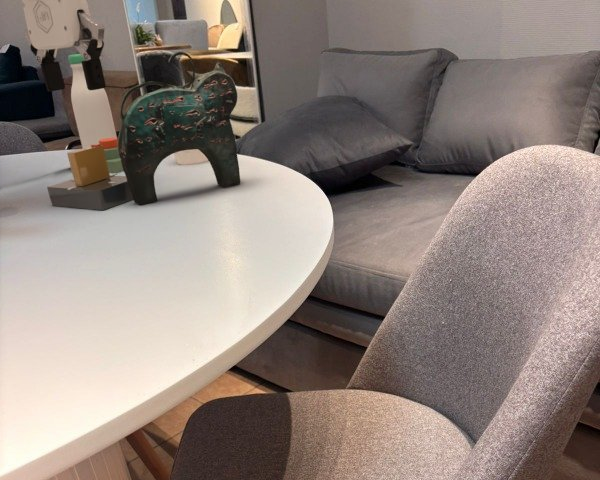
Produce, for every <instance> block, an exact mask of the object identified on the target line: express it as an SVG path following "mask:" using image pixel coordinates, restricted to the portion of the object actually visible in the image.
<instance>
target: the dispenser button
mask: <svg viewBox="0 0 600 480" xmlns="http://www.w3.org/2000/svg"><path fill="white" fill-rule="evenodd" d="M99 144H101V145H103V148H104V149H111V148H116V147H118V137H117V138H107V139H102V140H99Z"/></svg>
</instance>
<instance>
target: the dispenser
mask: <svg viewBox="0 0 600 480" xmlns="http://www.w3.org/2000/svg"><path fill="white" fill-rule="evenodd" d="M104 153H105V157H106V161H107V166H108V170H109V174H120V173H124V170H123V167H122V164H121V158H120V155H119V151H118V147H116V148H111V149H104Z"/></svg>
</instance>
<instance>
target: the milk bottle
mask: <svg viewBox="0 0 600 480" xmlns="http://www.w3.org/2000/svg"><path fill="white" fill-rule="evenodd" d="M67 58H68V63H69V65H70V66H69V67H70V68H71V70H72V82H71V90H70V100H71V105H72V106H71V107H72V110H73V114H74V115H73V116H74V119H75V123H76V127H77V132H78V136H79V140H80V144H81V147H82V148H81V149H83V148H87V147H91V145H93V144H99V140H102V139H107V138H117V139H118V136H117V132H116V131H117V130H116V128H115V121H114V118H113V114H112V109H111V104H110V101H109V98H108V94H107V92H106V90H105V88H103V89H97V90H88V88H87V84H86V80H85V76H84V71H83V67H82V62H81V61H86V60H84V58H83V57H82V56H81V54H80V53H76V54H69V55H68V57H67Z"/></svg>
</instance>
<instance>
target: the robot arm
mask: <svg viewBox="0 0 600 480" xmlns="http://www.w3.org/2000/svg"><path fill="white" fill-rule="evenodd" d="M21 3H22V9H23V13H24V18H25V24H26V29H25V30H24V32H23V36H24V39H25V40H26V42H27V44H28V46H29V47H30V51H31V53H32V54H33V55H34V56H35V59H36V62H37V63H38V64H39V65H40V69H41V73H42V76H43V80H44V83H45V88H46V90H47V92H57V91H62V90H64V89H65V88H66V85H65V81H64V78H63V73H62V69H61V65H60V61H56V58H57V54H58V50H59V49H67V48H71V47H74V48H75V49H76V50H77V52H78V54H81V56H82V57H83V58H84V60H86V61H81V62H82V67H83V71H84V76H85V80H86V84H87V88H88V90H97V89H103V88H104V89H105V88H106V86H107V85H106V79H105V76H104V71H103V66H102V61H101V59H102V58H103V49H104V46H105V42H104V40H105V39H104V38H105V26H104V24H103V23H101V22H100V21H98V20H97V19H95V18H94V17H92V15H91V13H90V8H89V3H88V1H87V0H21Z"/></svg>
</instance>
